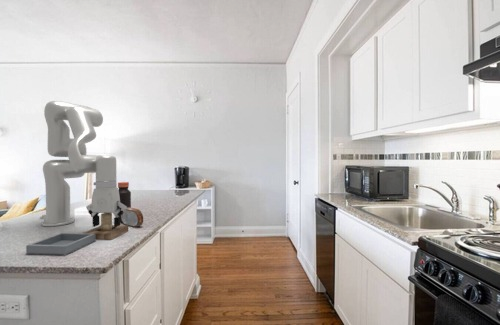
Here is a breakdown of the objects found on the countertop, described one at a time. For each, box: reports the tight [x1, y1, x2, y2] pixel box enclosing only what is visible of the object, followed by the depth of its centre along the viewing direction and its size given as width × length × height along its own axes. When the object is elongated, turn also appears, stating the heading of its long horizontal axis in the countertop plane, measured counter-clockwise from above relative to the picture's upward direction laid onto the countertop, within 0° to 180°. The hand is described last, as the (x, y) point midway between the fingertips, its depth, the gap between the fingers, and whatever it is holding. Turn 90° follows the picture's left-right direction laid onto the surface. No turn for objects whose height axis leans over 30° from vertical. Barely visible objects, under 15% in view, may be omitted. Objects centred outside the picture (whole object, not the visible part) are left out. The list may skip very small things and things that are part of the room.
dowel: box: [100, 213, 113, 231], centre depth 102 cm, size 4×4×9 cm
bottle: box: [117, 181, 132, 224], centre depth 125 cm, size 7×7×20 cm
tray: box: [25, 232, 97, 256], centre depth 88 cm, size 14×14×3 cm
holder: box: [83, 224, 129, 241], centre depth 103 cm, size 12×12×2 cm
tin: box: [121, 207, 144, 228], centre depth 117 cm, size 15×3×8 cm, turn 58°
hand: (106, 225), depth 102 cm, fingers open, 8 cm apart
